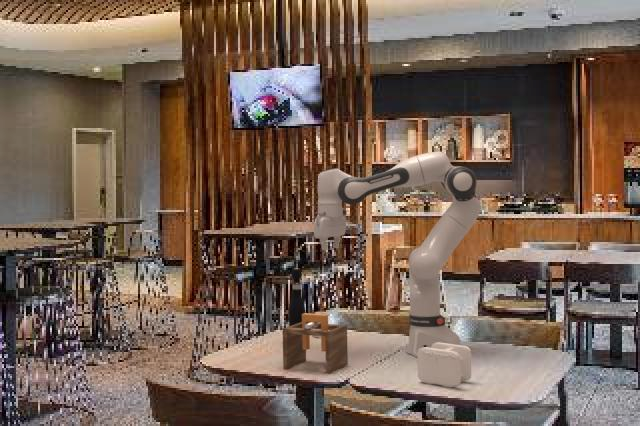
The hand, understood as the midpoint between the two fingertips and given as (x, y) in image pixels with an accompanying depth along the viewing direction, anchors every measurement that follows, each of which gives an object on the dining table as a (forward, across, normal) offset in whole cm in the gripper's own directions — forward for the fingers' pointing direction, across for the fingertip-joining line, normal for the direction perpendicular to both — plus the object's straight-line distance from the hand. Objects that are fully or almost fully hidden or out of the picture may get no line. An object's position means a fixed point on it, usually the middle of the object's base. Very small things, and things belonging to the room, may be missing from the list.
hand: (330, 249), depth 308 cm
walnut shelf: (+39, -23, -5) cm, 46 cm away
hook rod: (+25, -23, -5) cm, 34 cm away
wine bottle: (+39, +6, +18) cm, 44 cm away
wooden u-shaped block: (+33, -23, -5) cm, 41 cm away
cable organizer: (+39, -26, -53) cm, 71 cm away
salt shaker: (+39, +26, +18) cm, 50 cm away
